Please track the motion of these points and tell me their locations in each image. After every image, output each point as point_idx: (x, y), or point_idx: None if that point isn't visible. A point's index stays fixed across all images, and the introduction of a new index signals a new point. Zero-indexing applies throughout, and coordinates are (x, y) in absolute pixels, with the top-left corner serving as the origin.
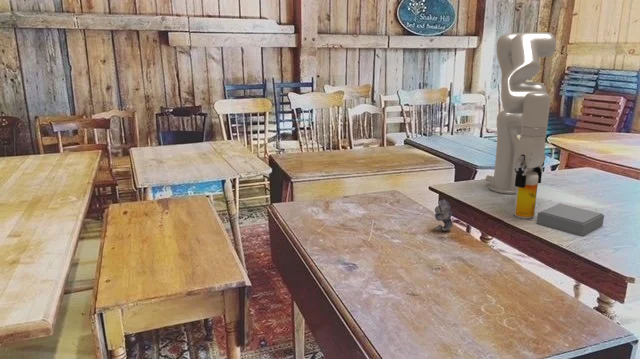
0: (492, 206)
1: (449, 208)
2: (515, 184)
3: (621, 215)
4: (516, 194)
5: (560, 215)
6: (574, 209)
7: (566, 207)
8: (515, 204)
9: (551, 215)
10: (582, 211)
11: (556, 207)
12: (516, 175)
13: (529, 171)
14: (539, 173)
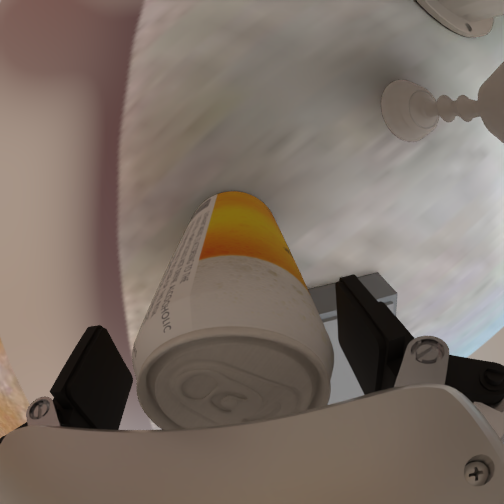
0: (216, 57)
1: None
2: (87, 334)
3: (470, 339)
4: (178, 246)
5: None
6: None
7: None
8: (188, 225)
9: None
10: (358, 385)
11: (330, 334)
12: (57, 387)
13: (315, 364)
14: (366, 393)
